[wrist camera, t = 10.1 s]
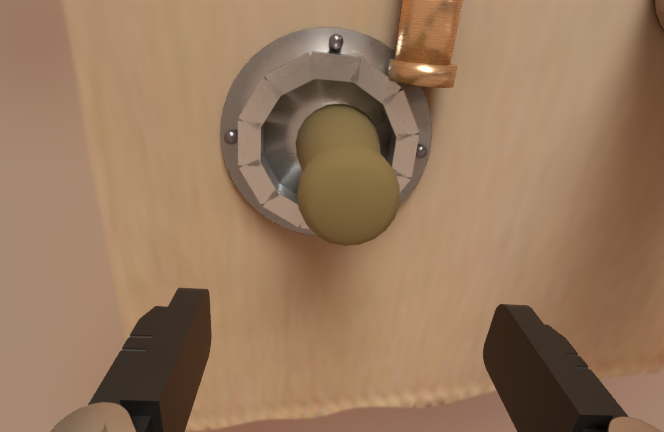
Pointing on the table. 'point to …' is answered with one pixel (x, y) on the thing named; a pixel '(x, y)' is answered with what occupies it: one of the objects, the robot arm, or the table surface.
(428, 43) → the pipe stub
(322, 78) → the flange seat
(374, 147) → the cork
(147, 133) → the table surface
